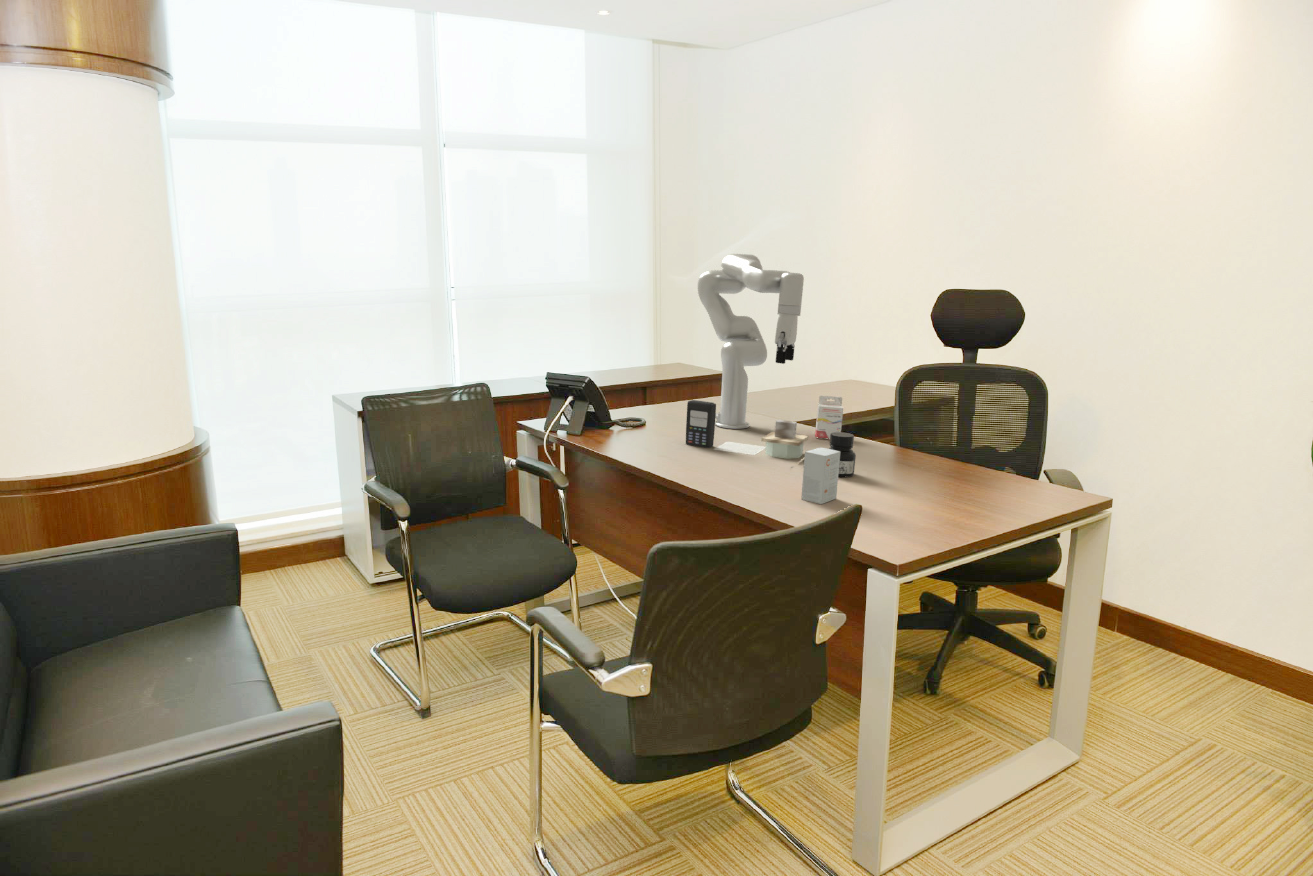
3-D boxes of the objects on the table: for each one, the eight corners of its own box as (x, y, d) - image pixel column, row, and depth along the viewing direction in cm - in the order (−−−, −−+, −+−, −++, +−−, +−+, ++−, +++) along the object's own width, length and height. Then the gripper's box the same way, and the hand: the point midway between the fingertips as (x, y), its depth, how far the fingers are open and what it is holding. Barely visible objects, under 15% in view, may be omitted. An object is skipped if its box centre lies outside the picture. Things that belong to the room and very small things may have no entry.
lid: (761, 441, 270) (762, 422, 269) (771, 434, 281) (773, 416, 280) (798, 446, 265) (800, 427, 264) (807, 439, 276) (809, 420, 275)
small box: (815, 493, 231) (820, 446, 228) (836, 498, 227) (841, 451, 225) (800, 499, 225) (804, 451, 222) (821, 504, 221) (826, 455, 218)
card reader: (683, 445, 281) (685, 400, 278) (688, 443, 285) (691, 399, 282) (709, 449, 277) (711, 404, 274) (714, 447, 281) (716, 402, 277)
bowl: (762, 456, 271) (763, 441, 270) (771, 449, 281) (772, 435, 280) (796, 461, 267) (797, 445, 266) (804, 454, 277) (806, 439, 276)
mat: (712, 450, 276) (713, 449, 276) (727, 442, 289) (727, 441, 288) (754, 456, 271) (754, 455, 270) (767, 448, 283) (767, 446, 283)
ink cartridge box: (815, 438, 302) (819, 397, 299) (814, 435, 307) (818, 395, 304) (840, 440, 301) (844, 399, 298) (839, 437, 306) (842, 396, 303)
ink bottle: (819, 475, 251) (823, 435, 249) (824, 468, 259) (828, 430, 257) (853, 479, 248) (857, 439, 245) (857, 473, 256) (861, 433, 254)
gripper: (785, 308, 294) (781, 357, 298) (770, 311, 279) (766, 363, 283) (807, 310, 291) (802, 360, 295) (793, 313, 276) (788, 365, 280)
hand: (784, 361), depth 289 cm, fingers open, 9 cm apart
